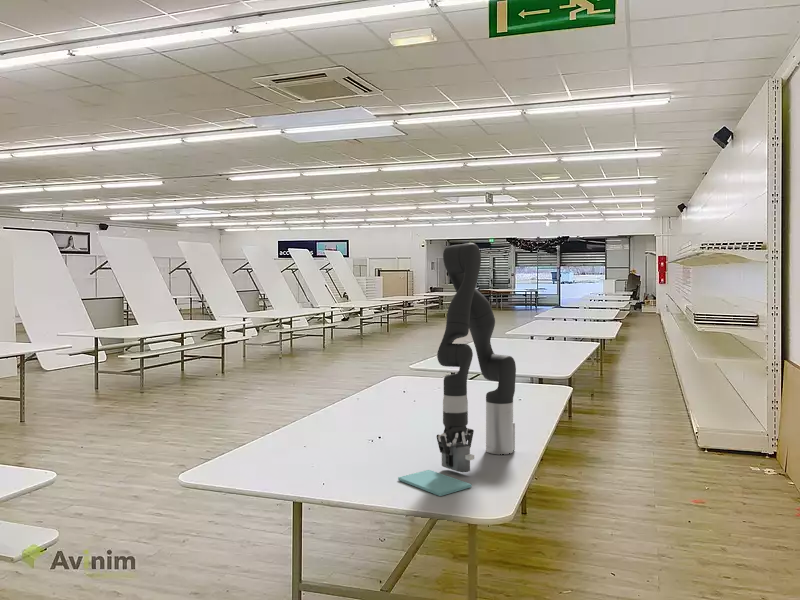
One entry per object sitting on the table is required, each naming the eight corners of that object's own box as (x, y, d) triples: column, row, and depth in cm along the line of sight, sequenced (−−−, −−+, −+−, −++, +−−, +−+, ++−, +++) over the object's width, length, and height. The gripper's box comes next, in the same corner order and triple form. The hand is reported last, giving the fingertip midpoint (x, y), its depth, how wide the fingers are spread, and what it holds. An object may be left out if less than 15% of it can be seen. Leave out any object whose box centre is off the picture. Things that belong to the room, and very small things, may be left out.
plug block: (449, 462, 194) (448, 440, 193) (477, 471, 184) (477, 448, 184) (438, 465, 191) (438, 442, 191) (466, 474, 182) (466, 450, 181)
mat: (429, 472, 188) (429, 469, 188) (471, 487, 174) (471, 484, 174) (398, 480, 181) (398, 477, 181) (440, 496, 167) (440, 493, 167)
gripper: (463, 404, 195) (463, 458, 196) (429, 410, 186) (429, 467, 187) (480, 408, 189) (480, 463, 190) (446, 414, 180) (447, 472, 181)
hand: (455, 464), depth 188 cm, fingers closed on plug block, 4 cm apart
